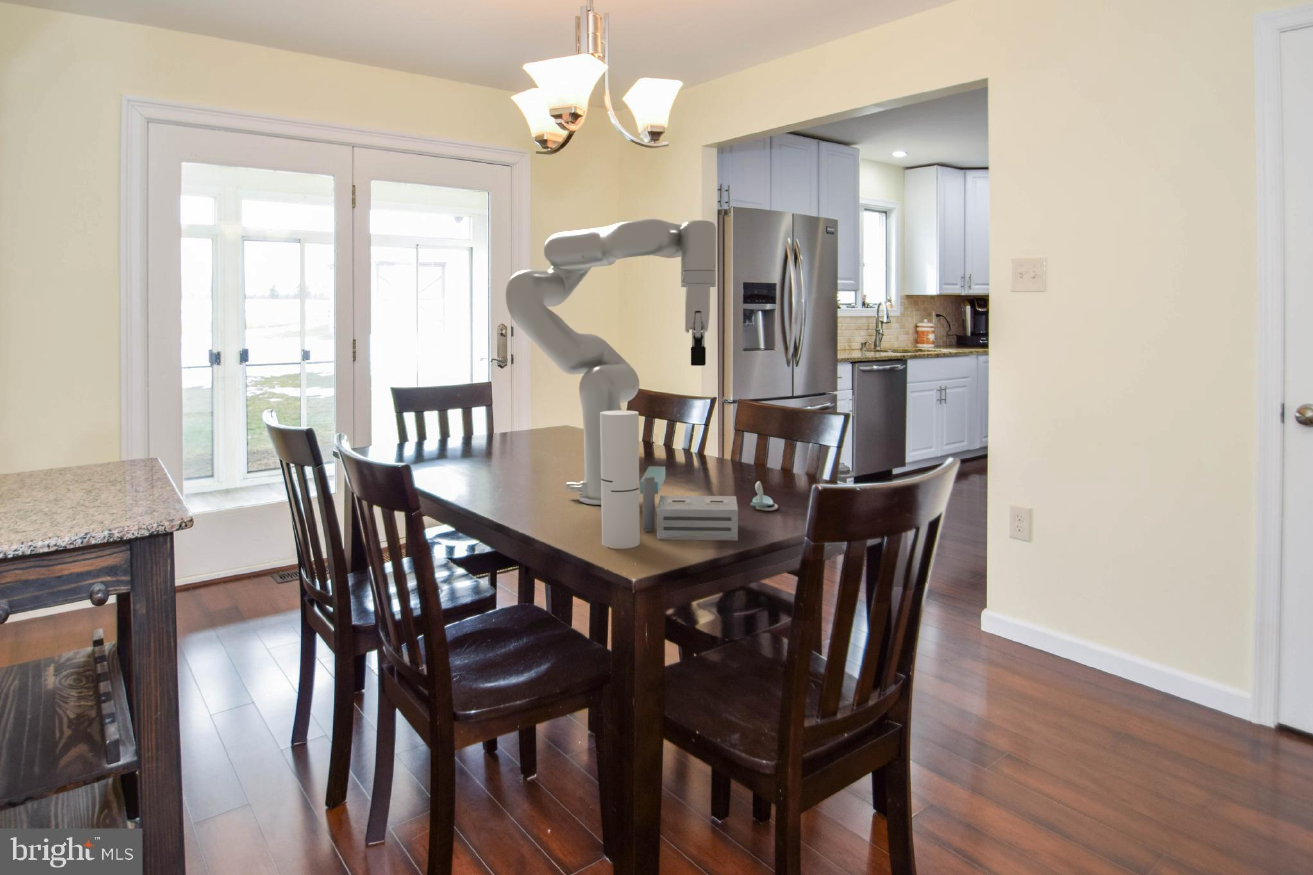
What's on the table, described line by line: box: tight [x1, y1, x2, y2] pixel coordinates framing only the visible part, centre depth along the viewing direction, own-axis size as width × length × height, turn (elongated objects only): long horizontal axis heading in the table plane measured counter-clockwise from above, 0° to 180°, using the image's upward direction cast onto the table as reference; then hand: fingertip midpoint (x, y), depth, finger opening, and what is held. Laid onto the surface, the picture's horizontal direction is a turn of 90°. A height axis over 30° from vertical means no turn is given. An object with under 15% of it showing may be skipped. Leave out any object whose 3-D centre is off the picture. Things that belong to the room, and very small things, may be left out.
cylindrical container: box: [600, 410, 641, 550], centre depth 150 cm, size 7×7×25 cm
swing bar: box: [639, 465, 666, 532], centre depth 168 cm, size 19×4×11 cm, turn 174°
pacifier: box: [750, 480, 779, 512], centre depth 179 cm, size 7×6×6 cm
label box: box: [656, 495, 739, 541], centre depth 159 cm, size 16×12×6 cm
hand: (698, 365), depth 175 cm, fingers closed
